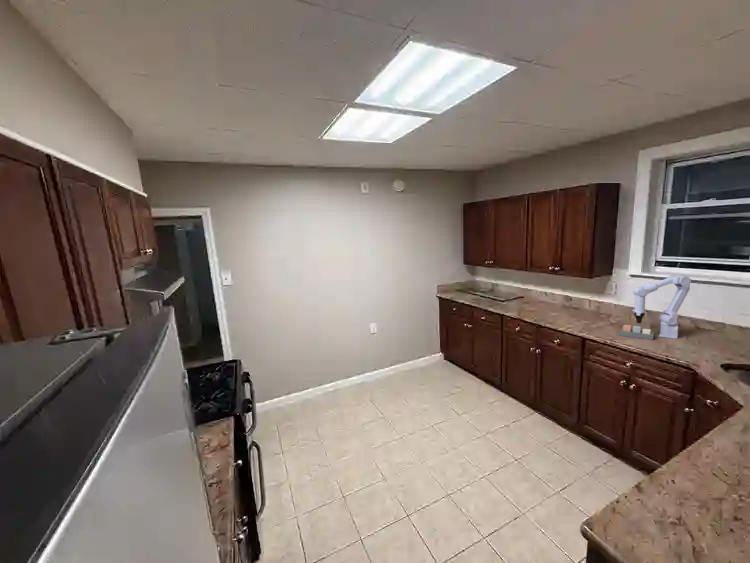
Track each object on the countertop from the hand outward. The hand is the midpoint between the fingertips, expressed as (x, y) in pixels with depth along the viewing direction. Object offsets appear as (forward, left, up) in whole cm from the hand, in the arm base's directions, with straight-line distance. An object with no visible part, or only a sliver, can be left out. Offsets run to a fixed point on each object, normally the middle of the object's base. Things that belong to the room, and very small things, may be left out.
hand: (638, 323), depth 234 cm
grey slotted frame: (+1, 0, -10) cm, 10 cm away
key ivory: (-4, 0, -8) cm, 9 cm away
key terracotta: (+7, 0, -7) cm, 9 cm away
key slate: (+1, 0, -7) cm, 7 cm away
